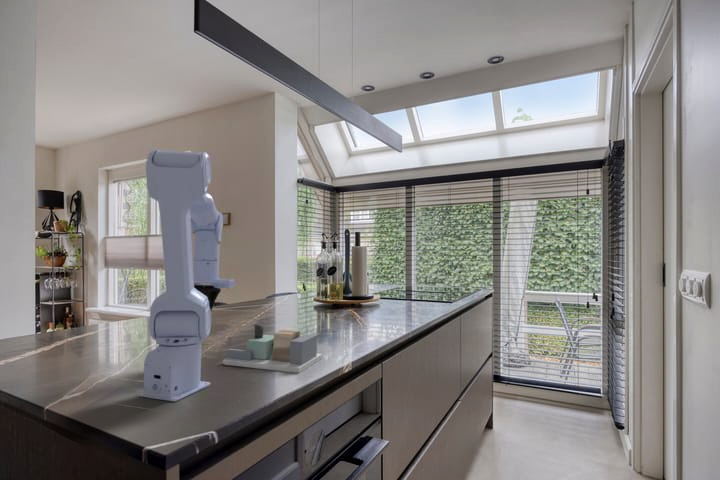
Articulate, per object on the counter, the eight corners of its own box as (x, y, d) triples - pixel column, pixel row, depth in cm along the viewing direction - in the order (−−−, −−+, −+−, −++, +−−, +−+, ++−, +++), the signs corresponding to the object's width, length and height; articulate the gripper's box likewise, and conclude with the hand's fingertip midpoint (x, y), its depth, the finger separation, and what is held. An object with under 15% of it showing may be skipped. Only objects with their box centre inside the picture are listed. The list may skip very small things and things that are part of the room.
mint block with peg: (265, 359, 91) (266, 328, 91) (246, 357, 92) (247, 327, 93) (280, 352, 98) (281, 323, 98) (262, 350, 99) (263, 322, 99)
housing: (290, 360, 90) (291, 334, 91) (268, 358, 92) (269, 332, 92) (299, 356, 95) (300, 330, 95) (278, 354, 96) (278, 329, 97)
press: (299, 373, 85) (299, 344, 85) (223, 364, 91) (223, 337, 91) (322, 358, 98) (322, 333, 98) (254, 351, 103) (254, 327, 103)
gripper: (242, 260, 97) (241, 317, 96) (192, 259, 101) (191, 313, 100) (224, 261, 90) (222, 321, 89) (172, 259, 94) (170, 317, 94)
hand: (204, 317), depth 94 cm, fingers closed
